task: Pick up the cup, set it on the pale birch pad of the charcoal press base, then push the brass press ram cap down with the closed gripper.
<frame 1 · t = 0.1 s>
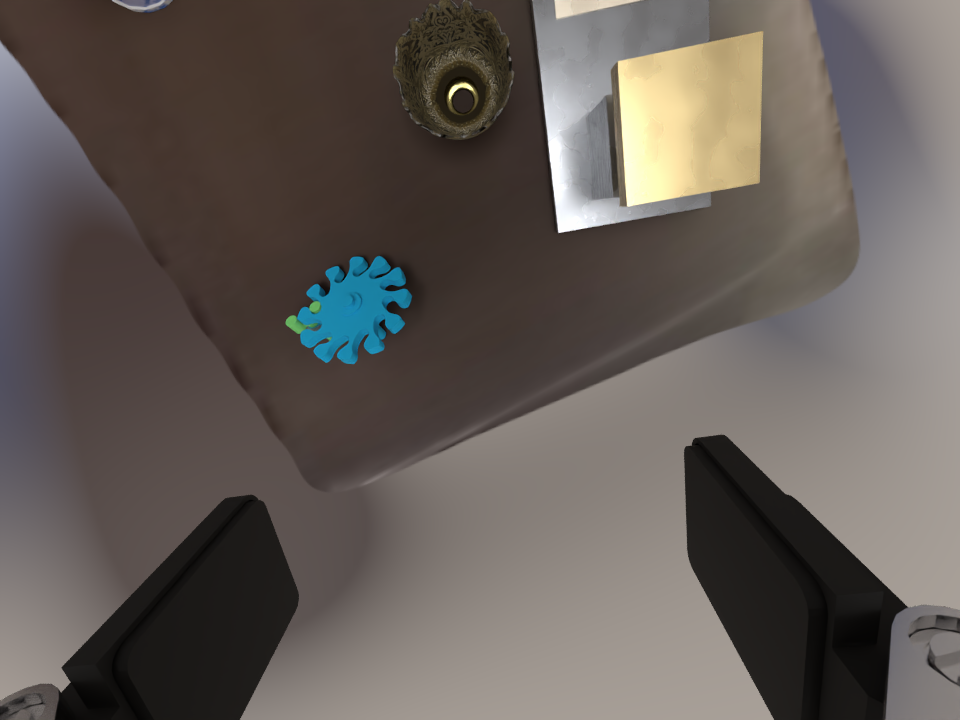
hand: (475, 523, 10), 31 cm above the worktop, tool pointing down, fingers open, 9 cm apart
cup: (463, 101, 35), on the worktop
press base: (616, 38, 33), on the worktop
press ram: (663, 136, 27), point 9 cm above the worktop, slide at 0.0 cm
gear: (362, 300, 40), on the worktop
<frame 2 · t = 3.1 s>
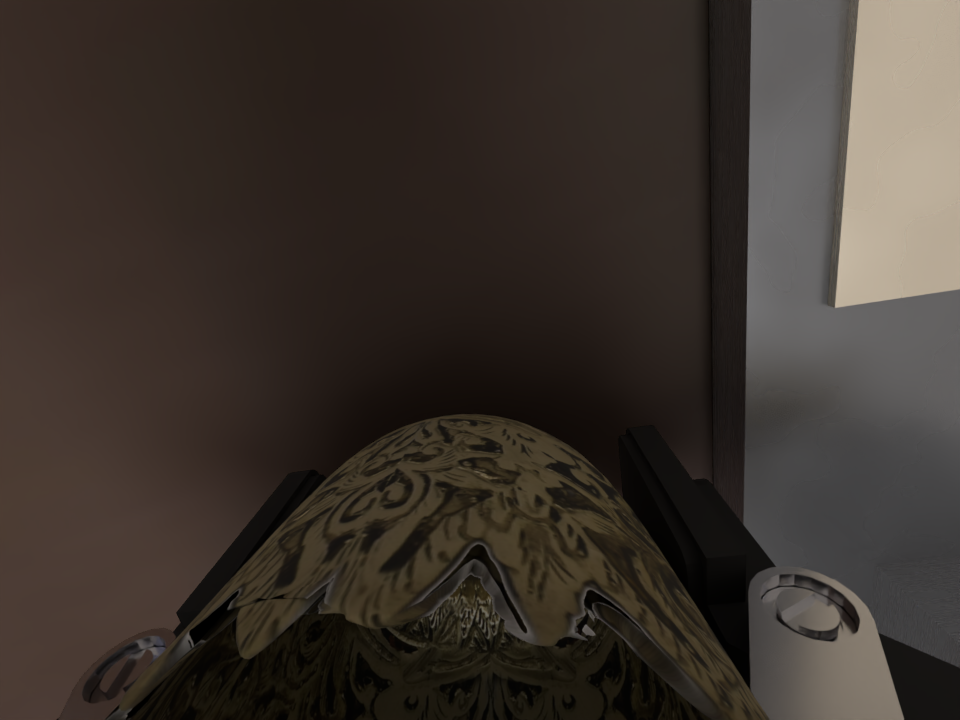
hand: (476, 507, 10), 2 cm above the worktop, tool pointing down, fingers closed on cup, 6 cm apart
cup: (479, 464, 12), on the worktop, touching gripper
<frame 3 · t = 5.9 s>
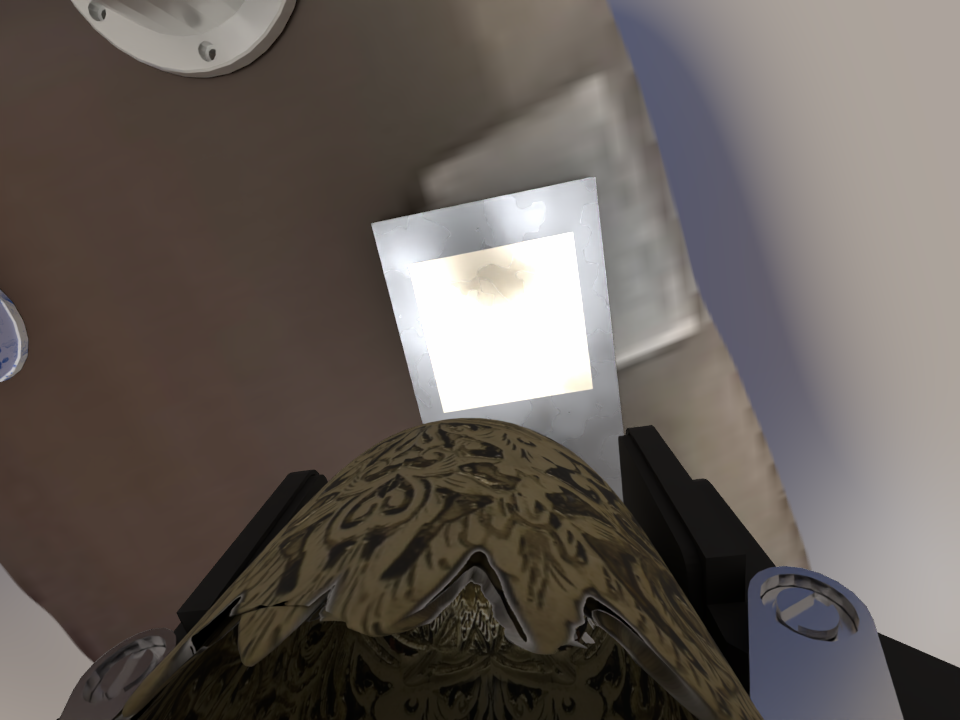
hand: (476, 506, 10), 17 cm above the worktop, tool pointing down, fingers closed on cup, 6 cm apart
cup: (479, 466, 12), point 16 cm above the worktop, touching gripper
press base: (520, 411, 28), on the worktop
when the fingers open (5 cm above the worktop, at t = 9.0 s): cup drops 1 cm, resting on press base.
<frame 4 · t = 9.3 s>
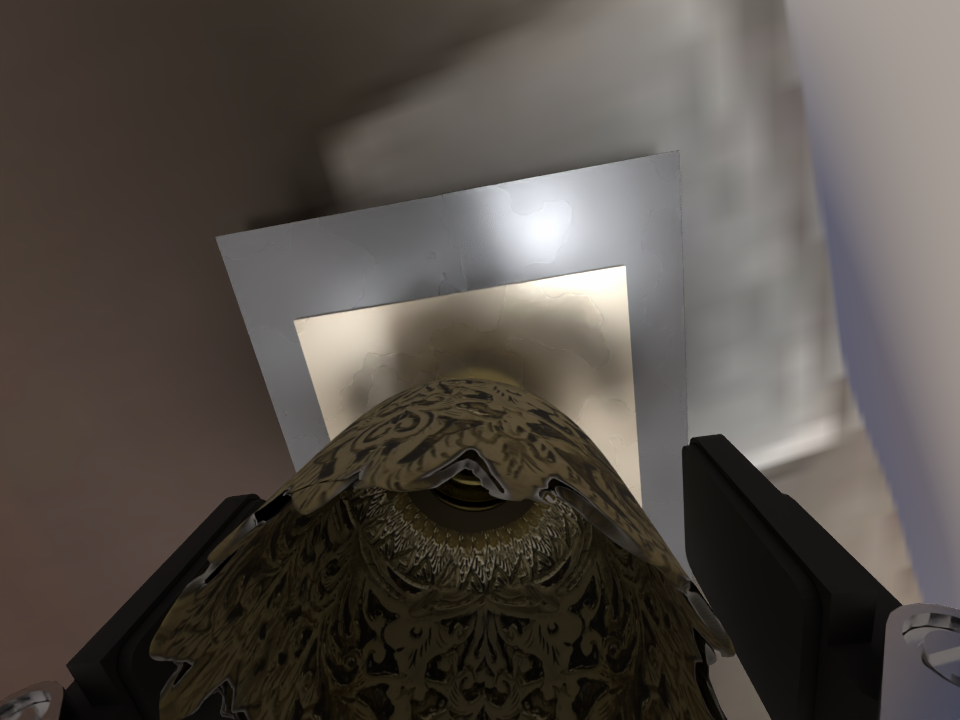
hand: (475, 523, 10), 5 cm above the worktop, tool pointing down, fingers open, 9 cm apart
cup: (476, 433, 13), point 2 cm above the worktop, touching press base
press base: (510, 561, 17), on the worktop
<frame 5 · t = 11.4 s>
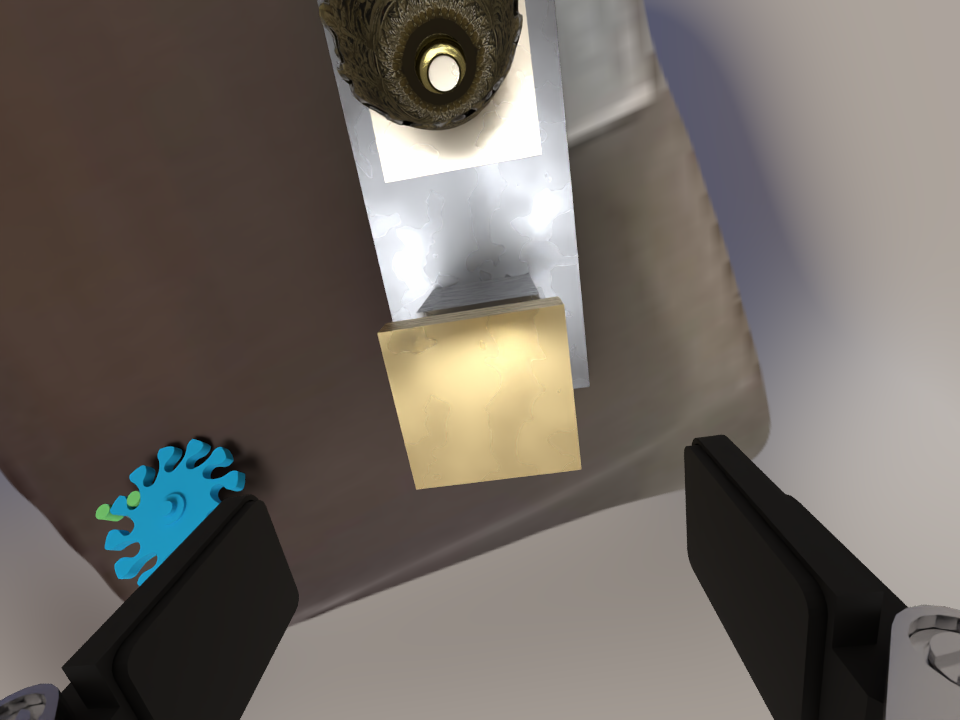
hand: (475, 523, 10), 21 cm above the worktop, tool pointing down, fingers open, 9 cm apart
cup: (444, 74, 24), point 2 cm above the worktop, touching press base
press base: (468, 196, 27), on the worktop
press ram: (486, 369, 21), point 9 cm above the worktop, slide at 0.0 cm
gear: (205, 478, 35), on the worktop
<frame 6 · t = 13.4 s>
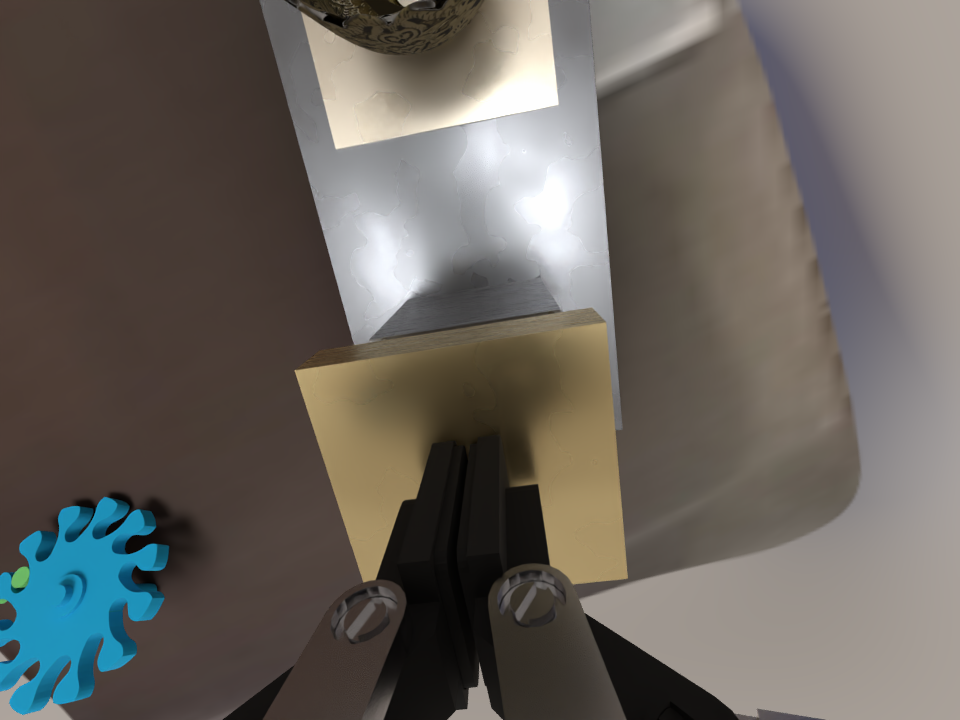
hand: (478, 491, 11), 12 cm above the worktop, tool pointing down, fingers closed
press base: (455, 171, 20), on the worktop
press ram: (479, 411, 15), point 8 cm above the worktop, slide at 1.1 cm, touching gripper
gear: (125, 542, 27), on the worktop
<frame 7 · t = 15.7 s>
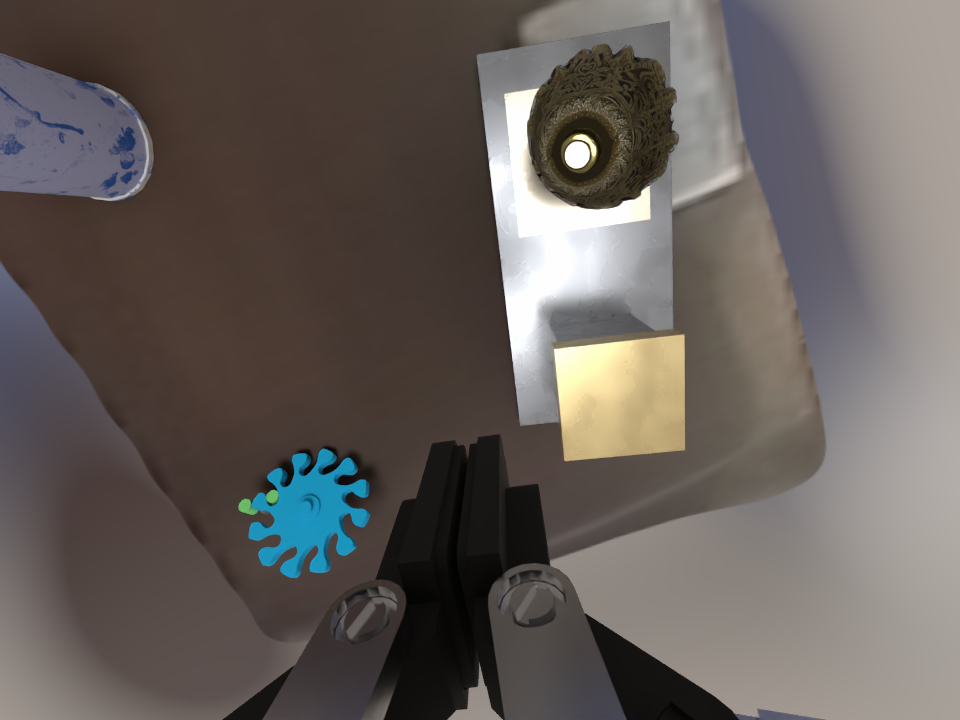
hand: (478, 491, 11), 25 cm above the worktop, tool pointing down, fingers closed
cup: (576, 155, 30), point 2 cm above the worktop, touching press base
press base: (581, 249, 33), on the worktop
aerosol can: (103, 144, 33), on the worktop
press ram: (605, 378, 29), point 6 cm above the worktop, slide at 2.8 cm
gear: (323, 482, 40), on the worktop
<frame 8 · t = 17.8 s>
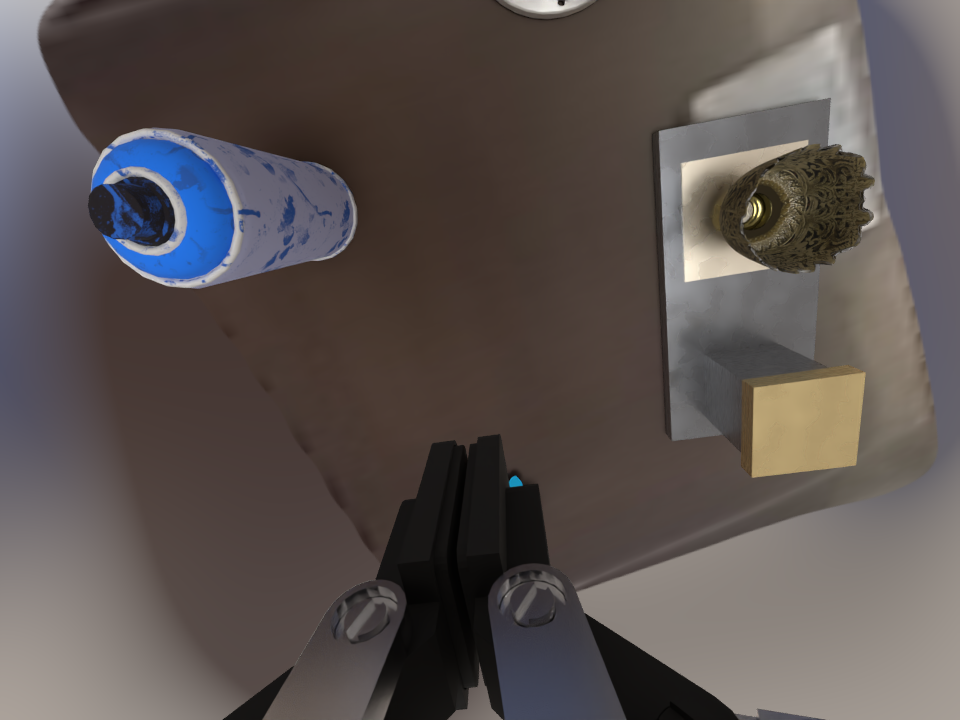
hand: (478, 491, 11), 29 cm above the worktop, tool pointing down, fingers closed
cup: (740, 211, 34), point 2 cm above the worktop, touching press base
press base: (732, 288, 37), on the worktop
aerosol can: (312, 212, 37), on the worktop
press ram: (771, 403, 34), point 6 cm above the worktop, slide at 2.8 cm
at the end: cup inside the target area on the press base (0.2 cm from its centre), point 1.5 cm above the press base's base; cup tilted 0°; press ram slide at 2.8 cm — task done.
